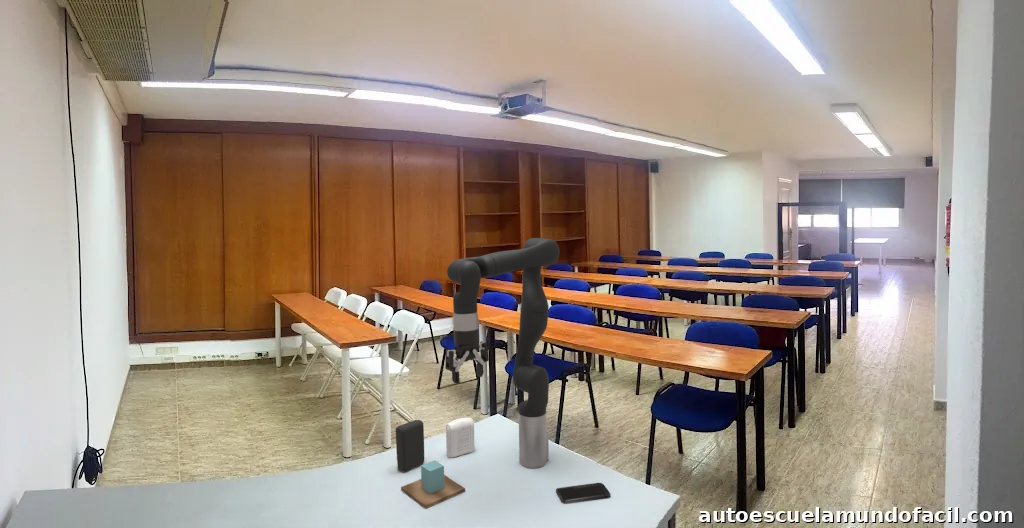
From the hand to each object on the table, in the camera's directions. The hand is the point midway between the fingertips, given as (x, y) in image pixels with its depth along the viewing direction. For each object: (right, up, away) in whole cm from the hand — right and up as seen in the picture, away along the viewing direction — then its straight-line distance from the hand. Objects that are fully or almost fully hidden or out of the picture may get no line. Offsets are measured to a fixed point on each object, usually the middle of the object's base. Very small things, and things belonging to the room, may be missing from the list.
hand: (468, 379), depth 162 cm
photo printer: (-5, -32, +27) cm, 42 cm away
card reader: (-20, -33, +17) cm, 42 cm away
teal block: (-11, -33, +2) cm, 35 cm away
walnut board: (-11, -34, +2) cm, 36 cm away
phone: (+34, -34, -1) cm, 49 cm away
